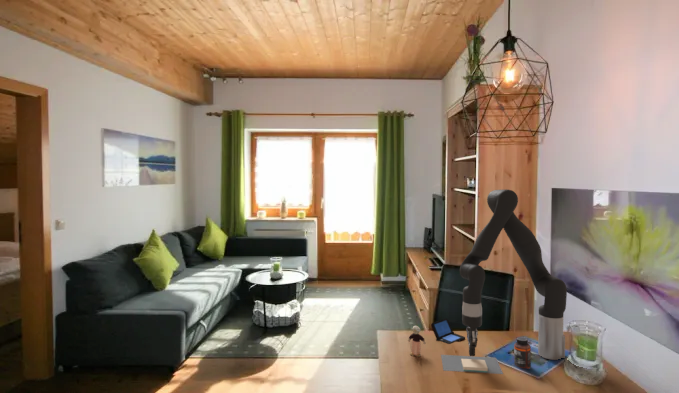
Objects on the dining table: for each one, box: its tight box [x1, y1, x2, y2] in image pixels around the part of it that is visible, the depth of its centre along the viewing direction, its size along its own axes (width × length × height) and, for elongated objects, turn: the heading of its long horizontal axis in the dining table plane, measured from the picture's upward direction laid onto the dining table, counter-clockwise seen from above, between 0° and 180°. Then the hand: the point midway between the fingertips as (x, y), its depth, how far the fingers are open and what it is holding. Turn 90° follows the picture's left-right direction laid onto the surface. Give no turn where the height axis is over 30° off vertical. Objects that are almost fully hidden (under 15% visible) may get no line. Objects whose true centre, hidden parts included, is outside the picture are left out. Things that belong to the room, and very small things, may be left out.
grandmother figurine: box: [407, 325, 426, 358], centre depth 176 cm, size 8×4×13 cm, turn 73°
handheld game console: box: [430, 318, 466, 345], centre depth 192 cm, size 12×11×7 cm
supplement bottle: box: [513, 336, 532, 370], centre depth 164 cm, size 6×6×11 cm
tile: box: [461, 359, 488, 372], centre depth 163 cm, size 9×2×7 cm
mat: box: [440, 354, 504, 375], centre depth 166 cm, size 22×14×1 cm, turn 80°
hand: (471, 355), depth 167 cm, fingers closed
